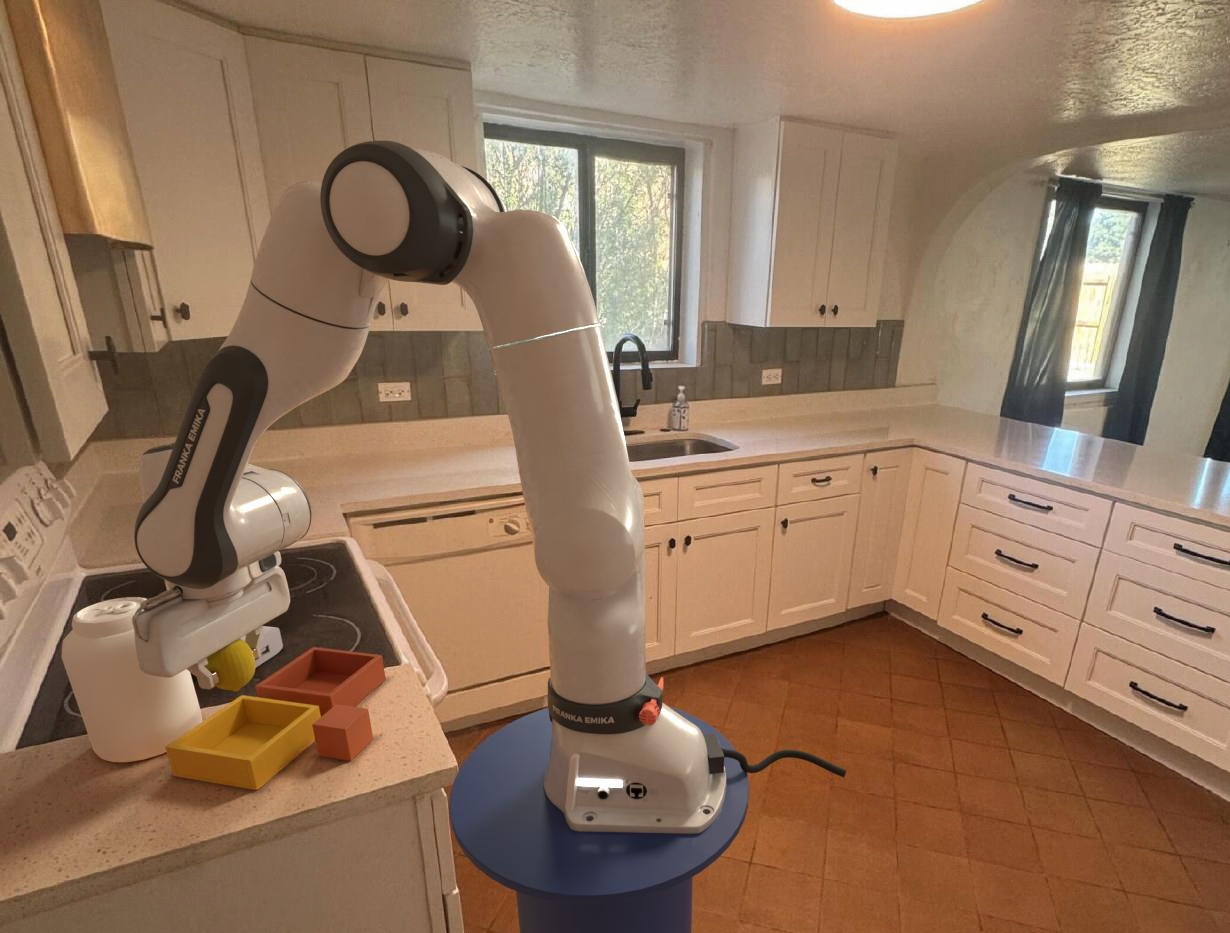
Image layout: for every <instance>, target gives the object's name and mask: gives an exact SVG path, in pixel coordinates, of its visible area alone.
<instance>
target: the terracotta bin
mask: <svg viewBox="0 0 1230 933" xmlns="http://www.w3.org/2000/svg"><path fill="white" fill-rule="evenodd" d="M386 680H387V678H386V672H385V665H384V660H383V655H382V654H376V653H366V652H358V651H350V650H342V649H335V648H334V649H332V648H326V647H317V646H312V647H311V648H309V649H308V650H306V651H305V652H303V653H302V654H300V655H299V656H298V657H296V658H294V659H293V660H291V661H290V662H289V663H287V664H286V665H284V666H283V667H281V668H280V669H278V670H276V672H273V674H271V675H270V676H268V677H267V678H265V679H263V680H262V681H261V682H259V683H257V684H256V685H255V686H254V689H255V693H256V697H259V698H266V699H273V700H280V701H287V702H295V703H302V704H309V705H316V706H319V710H320V715H321V717H322V716H323V715H324V714H325V713H327V712H328V711H329V710H330V709H331V708H333V707H334V706H335V705H344V706H351V707H357V705H358V704H360V703H361V702H362V701H363V700H364V699H365V698H367V697H368V696H369V695H370V694H371V693H372V692H374V691H375V690H376V689H377V688H378V687H379V686H381V685H382V684H384V682H385V681H386Z"/></svg>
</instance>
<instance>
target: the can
mask: <svg viewBox="0 0 1230 933" xmlns="http://www.w3.org/2000/svg"><path fill="white" fill-rule="evenodd" d="M147 599H148V598H146V597H141V596H140V597H139V596H137V597H136V596H126V597H118V598H113V599H107V600H103V601H100V602H97V603H94V604H91V605H89V606H86V607H84V608H81V609H80V610H78V611H77V612H76V613H75V614H74V615H73V617H72V620H71V628H72V630H70V632H69V633H67V635H66V636H65V637H64V638H63V640H62V644H61V660H62V663H63V666H64V669H65V671H66V672H65V673H66V675H67V677H68V680H69V683H70V687H71V689H72V692H73V696H74V698H75V701H76V704H77V707H78V710H79V712H80V716H81V718H82V722H83V724H84V728H85V730H86V733H87V735H88V739H89V742H90V744H91V747H92V750H93V753H95V755H97V756H98V757H99V758H100V759H101V760H103V761H107V762H110V763H131V762H137V761H142V760H147V759H151V758H153V757H157V756H161V755H163V754H165V753H167V752H166V748H165V747H166V746H167V745H169V744H170V743H172V742H173V741H175V740H176V739H178V738H179V737H181V736H182V735H184V734H185V733H186V732H188V731H189V730H191V729H192V728H194V727H195V726H197V725H198V724H200V723H201V722H203V721H204V720H203V715H202V710H201V708H200V707H201V706H200V703H199V700H198V695H197V693H196V689H195V685H194V681H193V678H192V673H191V672H189V671H188V670H187V669H185V670H184V671H182V672H180V673H179V674H177V675H175V676H173V677H170V678H165V677H157V676H151V675H148V674H146V673H144V672H143V671H142V670H141V669H140V666H139V662H138V657H137V652H136V645H135V634H134V627H133V623H132V617H133V615H134V614H135V612H136V611H137V609H138V608H139V607H140V604H141V603H142V602H143V601H145V600H147ZM142 611H144V610H142ZM142 611H141V612H142Z"/></svg>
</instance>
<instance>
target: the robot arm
mask: <svg viewBox="0 0 1230 933" xmlns="http://www.w3.org/2000/svg"><path fill="white" fill-rule="evenodd" d="M256 254H257V255H256V257H255V261H254V264H253V268H252V272H251V276H250V280H249V285H248V287H247V291H246V295H245V298H244V301H243V303H242V306H241V309H240V311H239V313H238V316H237V318H236V320H235V321H234V324H233V326H232V329H231V330H230V332H229V334H228V336H227V337H226V339H225V340H224V341H223V343H222V345H221V346H220V348H219V349H218V350H217V351H216V352H215V353H214V355H213V356H212V358H211V359H210V360H209V361H208V363H207V365H206V366H205V367H204V369H203V371H202V373H201V375H200V376H199V379H198V381H197V383H196V386H195V388H194V391H193V393H192V396H191V398H190V401H189V403H188V406H187V409H186V411H185V414H184V417H183V419H182V422H181V424H180V428H179V430H178V434H177V436H176V439H175V441H174V442H171V443H167V444H162V445H159V446H154V447H151V448H149V449H147V450H145V451H144V452H143V453H142V454H141V455H140V456H139V461H138V477H139V478H138V479H139V487H140V494H141V498H142V502H143V504H142V505H141V507H140V509H139V510H138V514H137V517H136V520H135V524H134V533H133V537H134V538H133V539H134V546H135V550H136V553H137V555H138V557H139V559H140V561H141V562H142V563H143V565H144V566H145V567H146V568H147V569H148V570H149V571H150V572H152V573H153V574H154V575H156V576H157V577H159V578H161V579H163V580H164V584H165V589H166V590H165V591H163V592H160V593H159V594H158V595H155V596H154V597H148V598H146V599H147V600H145V601H143V602H142V603H141V604H140V607H139V608H138V609H137V611H136V612H135V614H134V615H133V617H132V623H133V627H134V634H135V645H136V652H137V657H138V662H139V666H140V669H141V670H142V671H143V672H144V673H146V674H148V675H151V676H157V677H165V678H170V677H173V676H175V675H177V674H179V673H180V672H182V671H184V670H185V669H187V670H188V671H189V672H190V674H191V675H193V676H194V677H196V680H197V683H198V686H199V688H200V689H202V690H212V689H213V688H215V687H216V685H218V684H219V683H220V679H219V674H218V672H217V671H209V670H207V669H206V668H205V667H204V666H206V665H207V664H208V661H207V657H208V656H210V655H212V654H213V653H215V652H217V651H218V650H220V649H222V648H224V647H225V646H227V645H229V644H231V643H232V642H234V641H236V640H238V639H239V638H241V637H243V636H245V635H246V638H245V642H246V643H247V644H248V645H249V647H250V648H251V650H252V652H253V655H254V658H255V661H256V660H257V659H259V658H260V657H261V651H260V647H259V646H260V644H261V641H262V637H263V633H264V629H263V626H265V624H267V623H269V622H271V621H272V620H274V619H276V618H278V617H279V616H281V615H283V614H285V613H286V612H287V611H289V607H290V604H291V594H290V590H289V585H288V580H287V578H286V574H285V572H284V570H283V569H282V567H281V566H280V565H281V564H282V556H281V553H280V551H282V550H285V549H287V548H288V547H291V546H292V545H294V544H295V543H297V542H298V541H300V540H301V539H303V538H304V537H305V536H306V535H307V534H308V532H309V530H310V528H311V523H312V507H311V502H310V500H309V497H308V495H307V494H306V491H305V490H304V488H303V487H302V486H301V484H300V483H299V482H298V481H297V480H296V479H294V478H293V477H292V476H290V475H289V474H287V473H286V472H284V471H281V470H278V469H274V468H273V469H271V468H269V469H267V468H264V467H261V466H258V465H254V464H251V463H249V461H250V458H251V456H252V453H253V451H254V449H255V446H256V444H257V443H258V441H259V439H260V438H261V436H262V435H263V434H264V433H265V432H266V431H267V430H268V429H269V428H270V427H271V426H272V425H273V424H274V423H275V422H276V421H278V420H279V419H280V418H282V417H284V416H285V415H286V414H288V413H290V412H291V411H293V410H294V409H296V408H297V407H299V406H301V405H302V404H305V403H306V402H309V401H310V400H312V399H314V398H317V397H318V396H320V395H322V394H324V393H326V392H329V391H330V390H332V389H334V388H336V387H337V386H338V385H340V384H341V383H343V382H344V381H345V380H346V379H347V378H348V376H350V373H351V372H352V370H353V369H354V368H355V366H356V364H357V362H358V360H359V358H360V356H361V355H362V352H363V350H364V348H365V345H366V342H367V339H368V335H369V333H370V328H371V326H372V322H373V318H374V315H375V312H376V309H377V305H378V303H379V302H378V301H379V298H380V296H381V293H382V291H383V289H384V288H385V286H386V284H387V283H388V282H389V281H391V280H392V281H397V282H404V283H420V284H428V285H437V286H438V285H439V286H446V285H449V284H451V283H453V284H455V285H457V286H458V287H459V288H461V289H462V290H463V291H464V292H465V293H466V294H467V295H468V296H469V298H470V299H471V301H472V302H473V304H474V306H475V308H476V311H477V314H478V317H479V319H480V322H481V326H482V330H483V333H484V337H485V340H486V345H487V348H488V351H489V354H490V358H491V362H492V365H493V369H494V373H495V376H496V378H497V382H498V385H499V390H500V393H501V397H502V400H503V402H504V407H505V410H506V413H507V417H508V422H509V425H510V429H511V433H512V438H513V443H514V449H515V455H516V456H515V457H516V461H517V468H518V474H519V480H520V481H519V482H520V486H521V491H522V497H523V503H524V507H525V512H526V516H527V521H528V526H529V530H530V536H531V541H532V542H531V543H532V549H533V556H534V560H535V561H534V562H535V565H536V568H537V571H538V573H539V575H540V577H541V579H542V580H543V581H544V582H545V584H546V585H547V586H548V602H547V619H546V621H547V622H546V625H547V637H548V638H547V640H548V656H549V672H550V677H549V678H548V680H547V695H546V698H547V699H546V700H547V708H548V710H549V718H550V721H551V722H552V735H551V747H550V755H549V760H548V765H547V769H546V772H545V776H544V781H543V784H544V790H545V793H546V795H547V797H548V798H549V799H550V801H551V802H552V803H553V804H554V805H555V806H557V807H558V808H559V809H560V810H561V811H562V812H563V813H564V816H565V819H566V821H567V824H568V826H569V827H570V828H571V829H572V830H574V831H583V832H630V833H678V834H697V833H701V832H703V831H704V830H705V829H707V828H708V827H709V826H710V825H711V824H712V823H713V822H714V821H715V819H716V818H717V816H718V814H719V813H720V811H721V808H722V806H723V802H724V798H725V794H726V784H727V781H726V771H725V767H724V757H728V758H733V759H736V760H737V761H739V763H740V767H741V769H742V770H743V771H745V772H747V774H757V773H759V772H761V771H763V770H765V769H766V768H768V767H769V766H770V765H772V764H773V763H775V762H777V761H779V760H782V759H787V758H790V759H798V760H799V759H800V760H803V761H806V762H808V763H810V764H814V765H815V766H818V767H820V768H822V769H824V770H826V771H828V772H830V773H832V774H834V775H837V776H839V777H841V778H845V776H846V774H847V769H845V768H843V767H841V766H838V765H835V764H833V763H831V762H829V761H827V760H825V759H823V758H821V757H819V756H816V755H814V754H811V753H809V752H806V751H803V750H797V749H781V750H778V751H775V752H773V753H772V754H770V755H768V756H766V757H765V758H764V759H762V760H761V761H760V762H758V763H756V764H749V762H748V759H747V757H746V756H745V755H744V754H743V753H741V752H740V751H737V750H736V751H734V750H728V749H723V748H721V747H720V744H719V741H718V739H717V736H716V734H705V735H703V734H702V732H701V730H700V729H699V728H698V727H697V726H696V725H694V724H693V723H691V722H690V721H688V720H687V719H685V718H684V717H682V716H681V715H679V714H678V713H677V712H675V711H674V710H672V709H671V708H669V707H670V706H669V705H667V704H665V703H664V702H663V691H664V677H663V676H661V677H660V680H659V681H658V683H656V682H654V680H653V679H652V678H651V677H650V676H649V674H648V672H647V671H646V670H647V669H646V668H647V666H646V538H645V537H646V536H645V535H646V534H645V533H646V526H645V525H646V521H645V519H646V516H645V514H646V513H645V511H646V510H645V509H646V508H645V507H646V506H645V497H644V493H643V488H642V486H641V484H640V483H639V481H638V480H637V478H636V477H635V475H634V474H633V473H632V469H631V463H630V458H629V454H628V449H627V443H626V438H625V433H624V428H623V423H622V417H621V411H620V404H619V401H618V395H617V392H616V387H615V382H614V379H613V375H612V370H611V366H610V361H609V357H608V353H607V349H606V345H605V344H606V343H605V340H604V336H603V331H602V327H601V324H600V320H599V314H598V311H597V306H596V304H595V300H594V297H593V294H592V290H591V286H590V284H589V281H588V278H587V276H586V272H585V270H584V267H583V264H582V262H581V259H580V256H579V254H578V252H577V249H576V247H575V244H574V243H573V240H572V238H571V236H570V234H569V232H568V230H567V228H566V227H565V225H564V224H563V223H562V222H561V221H560V220H559V219H557V217H555V216H553V215H551V214H549V213H547V212H543V211H541V210H537V209H528V208H519V209H512V210H507V209H506V206H505V204H504V202H503V200H502V198H501V197H500V195H499V193H498V192H497V190H496V189H495V188H494V187H493V186H492V185H491V183H490V182H489V181H488V180H486V179H485V177H483V176H482V175H481V174H479V173H478V172H476V171H475V170H473V169H470V168H469V167H465V166H462V165H459V164H458V163H456V162H453V161H452V160H450V159H449V158H448V157H446V156H444V155H442V154H440V153H437V152H434V151H431V150H428V149H423V148H420V147H414V146H408V145H405V144H404V143H401V142H398V141H392V140H369V141H363V142H360V143H356V144H354V145H351V146H348V147H347V148H345V149H343V150H342V151H340V152H339V153H338V154H337V155H336V156H335V157H334V158H333V159H332V161H330V163H329V165H328V166H327V168H326V170H325V172H324V175H323V178H322V181H320V180H304V181H298V182H296V183H294V184H291V185H290V186H288V188H286V190H284V192H283V193H282V194H281V196H280V198H279V201H278V202H277V204H276V206H275V208H274V210H273V212H272V214H271V217H270V218H269V221H268V223H267V226H266V228H265V231H264V234H263V236H262V239H261V242H260V244H259V248H258V251H257V253H256ZM598 323H599V324H598ZM142 610H144V611H142ZM141 611H142V612H141ZM668 706H669V707H668Z"/></svg>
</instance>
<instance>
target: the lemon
mask: <svg viewBox="0 0 1230 933" xmlns="http://www.w3.org/2000/svg"><path fill="white" fill-rule="evenodd" d="M207 661H208V664H207V665H206V666H204V667H205V668H206V669H207V670H209V671H217V672H218V674H219V679H220V683H219V684H218V685H216V686H215V687H216V688H218V689H220V690H224V691H225V690H226V691H231V692H235V693H236V692H239V691H240V690H241V689H242V688H243V687H245V686H246V685H247V684H249V683H250V681H251V680H252V679H253V677H254V675H255V672H256V668H257V667H256V664H255V658H254V655H253V652H252V650H251V648H250V647H249V645H248V644H247V643H246V642H244V641H243V640H242V639H238V640H236V641H234V642H232V643H231V644H229V645H227V646H225V647H224V648H222V649H220V650H218V651H217V652H215V653H213V654H212V655H210V656H208V657H207ZM255 667H256V668H255Z"/></svg>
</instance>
